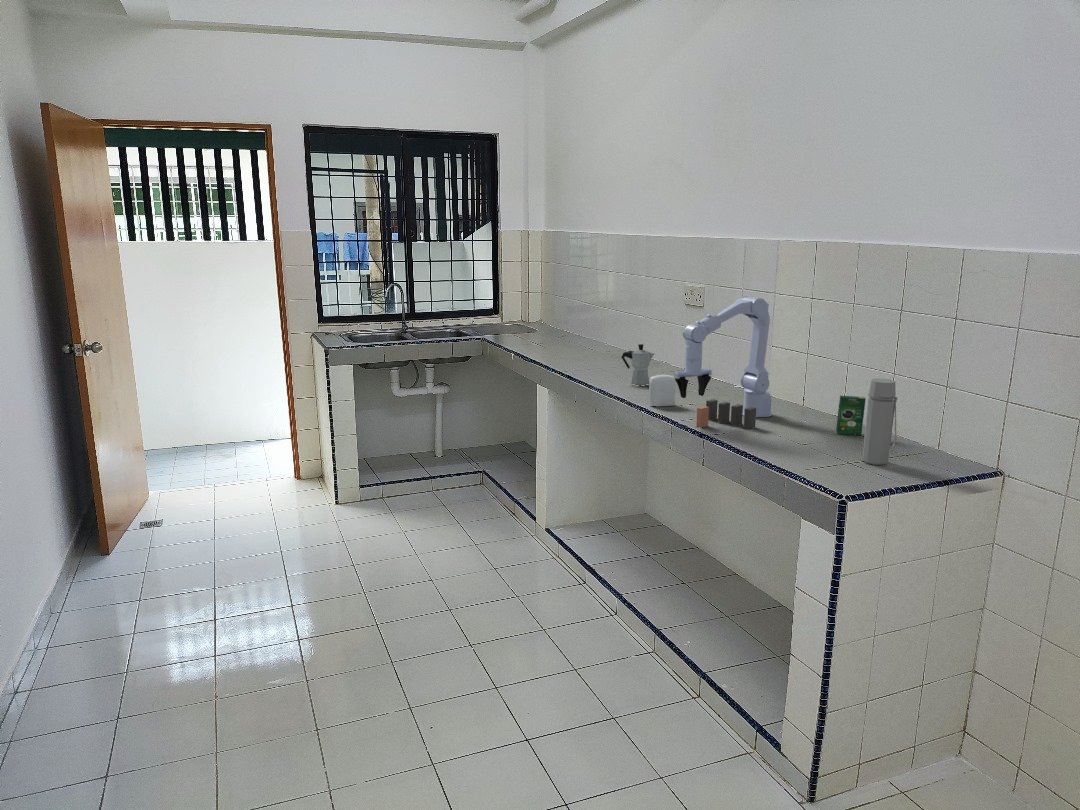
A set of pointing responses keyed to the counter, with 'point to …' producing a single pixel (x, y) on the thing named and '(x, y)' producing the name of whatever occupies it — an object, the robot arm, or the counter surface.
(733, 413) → the domino
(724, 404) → the domino
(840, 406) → the coffee box
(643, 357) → the coffee maker
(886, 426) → the water bottle
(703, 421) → the terracotta domino
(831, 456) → the counter surface
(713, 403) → the domino
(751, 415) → the domino
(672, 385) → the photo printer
